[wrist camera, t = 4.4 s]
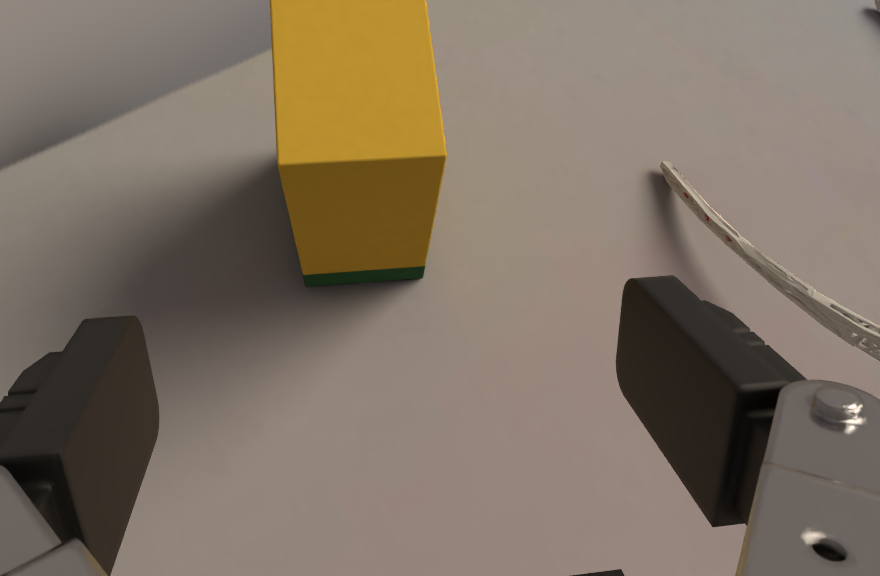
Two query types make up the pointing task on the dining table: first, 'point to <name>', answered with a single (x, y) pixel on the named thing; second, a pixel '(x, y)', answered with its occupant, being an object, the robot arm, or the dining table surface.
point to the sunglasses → (781, 271)
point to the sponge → (357, 135)
